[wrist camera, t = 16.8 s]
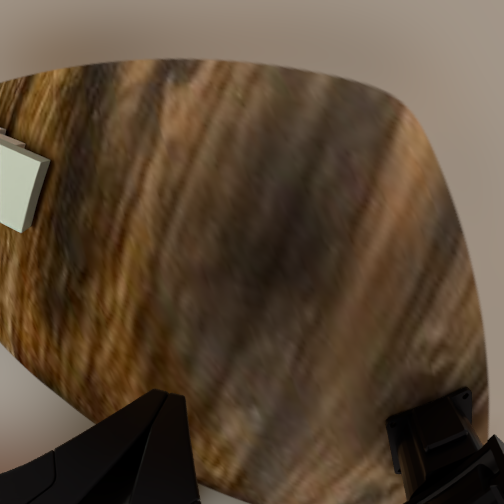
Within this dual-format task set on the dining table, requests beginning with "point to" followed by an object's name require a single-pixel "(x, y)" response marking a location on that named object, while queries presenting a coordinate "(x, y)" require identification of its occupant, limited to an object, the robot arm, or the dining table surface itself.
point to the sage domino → (19, 184)
